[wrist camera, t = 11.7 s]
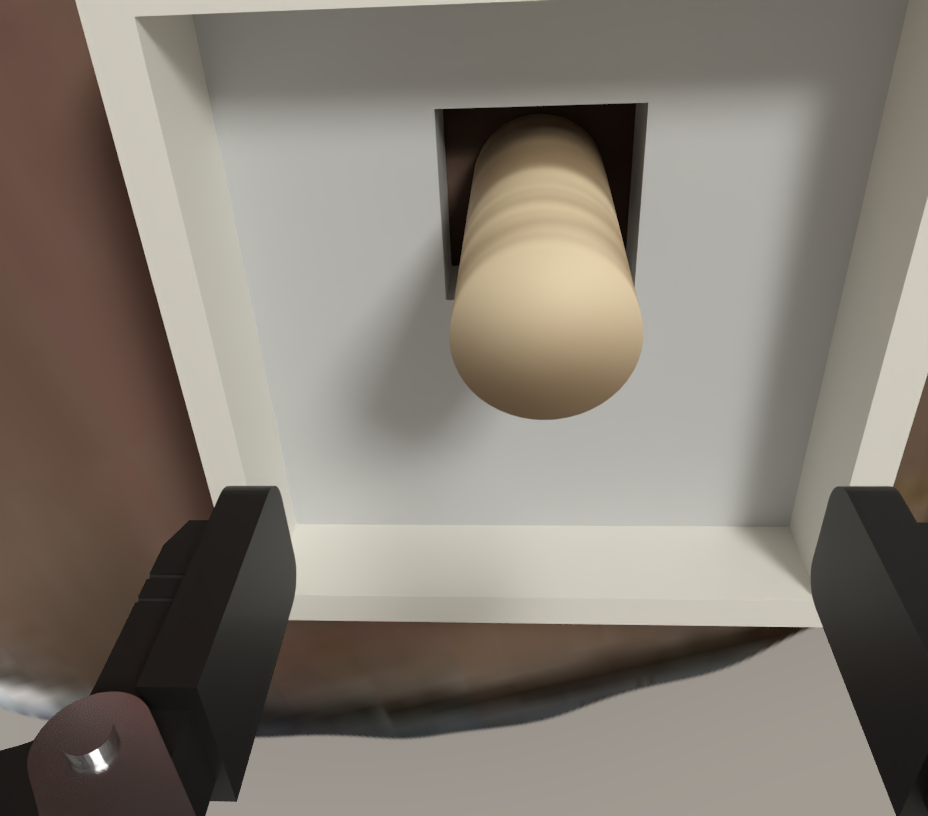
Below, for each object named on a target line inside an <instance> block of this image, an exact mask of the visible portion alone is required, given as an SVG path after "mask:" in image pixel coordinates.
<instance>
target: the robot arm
mask: <svg viewBox="0 0 928 816" xmlns="http://www.w3.org/2000/svg"><path fill="white" fill-rule="evenodd" d="M295 590H296V561H295V555H294V551H293V546H292V542H291V537H290V532H289V528H288V523H287V518H286V514H285V509H284V505H283V500H282V496H281V493H280V490H279V488H278V487H277V486H226V487H225V488H224V489H223V490H222V492H221V493H220V496H219V498H218V500H217V502H216V505H215V507H214V509H213V511H212V514H211V516H210V518H209V520H189V521H188V522H187V523H186V524H185V525H184V526H183V527H182V528H181V529H180V530H179V531H178V532H177V533H176V534H175V535H174V536H173V537H172V538H171V539H169V540H168V541H167V542H166V543H165V544H164V545H163V547H162V549H161V551H160V553H159V555H158V558H157V560H156V562H155V564H154V566H153V568H152V570H151V572H150V579H147V580H146V582H145V584H144V586H143V588H142V590H141V592H140V594H139V596H138V597H139V601H138V603H135V605H134V607H133V609H132V611H131V613H130V615H129V617H128V619H127V621H126V623H125V625H124V627H123V629H122V631H121V633H120V635H119V637H118V640H117V642H116V644H115V646H114V648H113V650H112V652H111V654H110V656H109V658H108V660H107V662H106V664H105V666H104V668H103V670H102V672H101V674H100V676H99V678H98V681H97V683H96V685H95V687H94V689H93V690H92V692H91V694H90V695H89V696H87V697H84V698H82V699H80V700H77V701H75V702H74V703H72V704H70V705H68V706H66V707H65V708H64V709H62V710H61V711H59V712H58V713H57V714H56V715H55V716H53V717H52V718H51V719H50V720H49V721H48V722H47V723H46V724H45V725H44V727H43V728H42V729H41V730H40V732H39V733H38V735H37V736H36V738H35V739H34V740H33V741H31V742H28V743H25V744H22V745H19V746H16V747H12V748H8V749H5V750H1V751H0V816H205V814H206V811H207V808H208V805H209V801H234V802H237V799H238V795H239V792H240V788H241V785H242V781H243V778H244V774H245V771H246V767H247V764H248V760H249V756H250V753H251V749H252V745H253V742H254V739H255V735H256V732H257V728H258V725H259V721H260V718H261V714H262V711H263V707H264V704H265V700H266V697H267V693H268V690H269V686H270V683H271V679H272V675H273V672H274V668H275V665H276V661H277V658H278V654H279V651H280V647H281V644H282V640H283V637H284V633H285V630H286V626H287V623H288V619H289V616H290V612H291V609H292V605H293V601H294V597H295ZM811 591H812V597H813V601H814V605H815V608H816V611H817V613H818V616H819V618H820V621H821V624H822V626H823V629H824V631H825V634H826V636H827V639H828V642H829V644H830V647H831V649H832V652H833V654H834V657H835V659H836V662H837V665H838V667H839V670H840V672H841V675H842V677H843V680H844V683H845V685H846V688H847V690H848V693H849V695H850V698H851V701H852V703H853V706H854V708H855V711H856V713H857V716H858V718H859V721H860V724H861V726H862V729H863V731H864V734H865V736H866V739H867V741H868V744H869V747H870V749H871V752H872V755H873V757H874V760H875V762H876V765H877V767H878V770H879V773H880V775H881V778H882V780H883V783H884V785H885V788H886V790H887V793H888V796H889V798H890V801H891V803H892V806H893V809H894V811H895V813H896V816H928V523H917V522H916V520H915V518H914V517H913V515H912V513H911V511H910V510H909V508H908V506H907V505H906V503H905V501H904V499H903V498H902V496H901V494H900V493H899V491H898V490H897V489H896V488H894V487H891V486H838V487H835V488H834V489H833V490H832V492H831V494H830V497H829V500H828V504H827V508H826V511H825V515H824V519H823V523H822V526H821V530H820V534H819V538H818V541H817V545H816V549H815V553H814V556H813V560H812V565H811Z"/></svg>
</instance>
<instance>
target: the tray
mask: <svg viewBox="0 0 928 816" xmlns="http://www.w3.org/2000/svg"><path fill="white" fill-rule="evenodd" d="M75 1H76V4H77V8H78V12H79V15H80V19H81V23H82V26H83V30H84V34H85V37H86V41H87V45H88V48H89V52H90V56H91V59H92V63H93V66H94V70H95V74H96V77H97V81H98V85H99V88H100V92H101V96H102V99H103V103H104V107H105V110H106V114H107V118H108V121H109V125H110V129H111V132H112V136H113V140H114V143H115V147H116V151H117V154H118V158H119V162H120V165H121V169H122V173H123V176H124V180H125V184H126V187H127V191H128V195H129V198H130V202H131V206H132V209H133V213H134V217H135V220H136V224H137V227H138V231H139V235H140V238H141V242H142V246H143V249H144V253H145V257H146V260H147V264H148V268H149V271H150V275H151V279H152V282H153V286H154V290H155V293H156V297H157V301H158V304H159V308H160V312H161V315H162V319H163V323H164V326H165V330H166V334H167V337H168V341H169V345H170V348H171V352H172V356H173V359H174V363H175V367H176V370H177V374H178V378H179V381H180V385H181V388H182V392H183V396H184V399H185V403H186V407H187V410H188V414H189V418H190V421H191V425H192V429H193V432H194V436H195V440H196V443H197V447H198V451H199V454H200V458H201V462H202V465H203V469H204V473H205V476H206V480H207V484H208V487H209V491H210V495H211V498H212V502H213V506H214V507H215V505H216V502H217V500H218V498H219V496H220V493H221V492H222V490H223V489H224V488H225V487H226V486H277V487H278V488H279V490H280V493H281V496H282V500H283V505H284V509H285V514H286V518H287V523H288V528H289V532H290V537H291V542H292V546H293V551H294V555H295V561H296V590H295V597H294V601H293V605H292V609H291V612H290V616H289V619H288V620H323V621H397V622H471V623H545V624H618V625H692V626H766V627H823V626H822V624H821V621H820V618H819V616H818V613H817V611H816V608H815V605H814V601H813V597H812V591H811V565H812V560H813V556H814V553H815V549H816V545H817V541H818V538H819V534H820V530H821V526H822V523H823V519H824V515H825V511H826V508H827V504H828V500H829V497H830V494H831V492H832V490H833V489H834V488H835V487H838V486H891V487H893V484H894V481H895V478H896V475H897V471H898V468H899V465H900V462H901V458H902V455H903V452H904V449H905V445H906V442H907V439H908V436H909V432H910V429H911V426H912V423H913V419H914V416H915V413H916V410H917V406H918V403H919V400H920V397H921V393H922V390H923V387H924V384H925V380H926V377H927V374H928V0H75ZM619 103H636V110H635V125H634V140H633V155H632V169H631V184H630V199H629V214H628V229H627V243H626V256H627V260H628V264H629V268H630V272H631V276H632V280H633V284H634V288H635V292H636V296H637V300H638V304H639V308H640V312H641V316H642V322H643V345H642V351H641V354H640V357H639V360H638V363H637V365H636V367H635V369H634V371H633V373H632V374H631V376H630V377H629V379H628V380H627V382H626V383H625V384H624V385H623V386H622V387H621V389H620V390H619V391H618V392H616V393H615V394H614V395H613V396H612V397H611V398H609V399H608V400H607V401H605V402H604V403H602V404H601V405H599V406H597V407H595V408H593V409H591V410H589V411H587V412H584V413H582V414H579V415H575V416H572V417H568V418H562V419H555V420H533V419H527V418H521V417H517V416H513V415H510V414H507V413H505V412H502V411H500V410H498V409H496V408H494V407H492V406H490V405H489V404H487V403H486V402H484V401H483V400H482V399H480V398H479V397H478V396H477V395H476V394H475V393H473V392H472V391H471V390H470V388H469V387H468V386H467V385H466V384H465V382H464V381H463V379H462V378H461V376H460V375H459V373H458V371H457V369H456V367H455V364H454V362H453V358H452V355H451V350H450V343H449V330H450V324H451V317H452V311H453V304H454V298H455V291H456V285H457V278H458V272H459V266H452V261H451V243H450V226H449V208H448V190H447V172H446V155H445V137H444V119H443V109H456V108H489V107H521V106H554V105H587V104H619Z"/></svg>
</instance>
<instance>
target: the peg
mask: <svg viewBox="0 0 928 816" xmlns="http://www.w3.org/2000/svg"><path fill="white" fill-rule="evenodd" d="M449 343H450V350H451V355H452V358H453V362H454V364H455V367H456V369H457V371H458V373H459V375H460V376H461V378H462V379H463V381H464V382H465V384H466V385H467V386H468V387H469V388H470V390H471V391H472V392H473V393H475V394H476V395H477V396H478V397H479V398H480V399H482V400H483V401H484V402H486V403H487V404H489V405H490V406H492V407H494V408H496V409H498V410H500V411H502V412H505V413H507V414H510V415H513V416H517V417H521V418H527V419H533V420H555V419H562V418H568V417H572V416H575V415H579V414H582V413H584V412H587V411H589V410H591V409H593V408H595V407H597V406H599V405H601V404H602V403H604V402H605V401H607V400H608V399H609V398H611V397H612V396H613V395H614V394H615V393H616V392H618V391H619V390H620V389H621V387H622V386H623V385H624V384H625V383H626V382H627V380H628V379H629V377H630V376H631V374H632V373H633V371H634V369H635V367H636V365H637V363H638V360H639V357H640V354H641V351H642V345H643V322H642V316H641V312H640V308H639V304H638V300H637V296H636V292H635V288H634V284H633V280H632V276H631V272H630V268H629V264H628V260H627V256H626V252H625V248H624V244H623V240H622V236H621V232H620V228H619V223H618V219H617V215H616V211H615V207H614V203H613V199H612V195H611V191H610V187H609V183H608V179H607V175H606V171H605V167H604V163H603V159H602V156H601V153H600V151H599V149H598V147H597V145H596V143H595V142H594V140H593V139H592V137H591V136H590V135H589V134H588V133H587V132H586V131H585V130H584V129H583V128H582V127H581V126H579V125H578V124H576V123H575V122H573V121H571V120H569V119H567V118H564V117H561V116H558V115H553V114H547V113H536V114H528V115H524V116H520V117H518V118H515V119H512V120H511V121H509V122H507V123H505V124H504V125H502V126H501V127H499V128H498V129H497V130H496V131H495V132H494V133H493V134H492V135H491V136H490V137H489V138H488V139H487V141H486V142H485V143H484V145H483V147H482V148H481V150H480V152H479V155H478V157H477V160H476V163H475V168H474V174H473V181H472V187H471V194H470V200H469V207H468V213H467V220H466V226H465V233H464V239H463V246H462V252H461V259H460V265H459V272H458V278H457V285H456V291H455V298H454V304H453V311H452V317H451V324H450V330H449Z"/></svg>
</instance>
